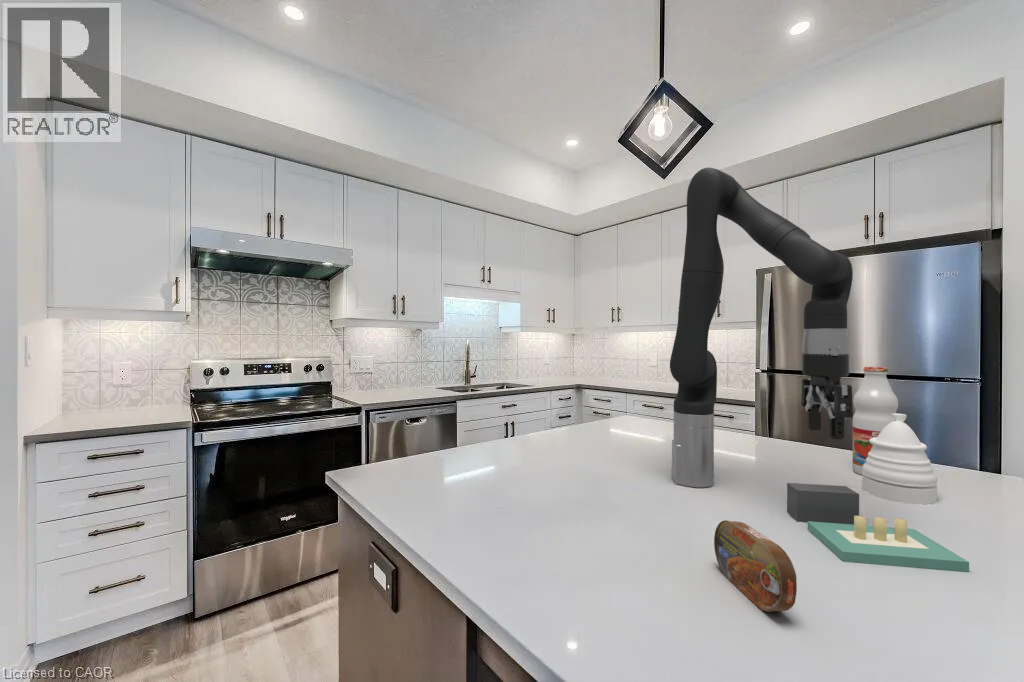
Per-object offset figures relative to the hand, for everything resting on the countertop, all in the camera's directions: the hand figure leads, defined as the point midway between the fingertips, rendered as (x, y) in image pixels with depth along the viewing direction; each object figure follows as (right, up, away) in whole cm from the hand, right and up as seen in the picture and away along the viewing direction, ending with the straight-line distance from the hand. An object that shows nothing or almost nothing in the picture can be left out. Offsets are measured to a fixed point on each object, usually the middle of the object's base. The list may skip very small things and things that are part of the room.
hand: (824, 434), depth 88 cm
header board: (0, -16, -13) cm, 21 cm away
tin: (-28, -17, -26) cm, 42 cm away
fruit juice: (+33, -17, +28) cm, 47 cm away
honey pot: (+26, -17, +13) cm, 34 cm away
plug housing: (-1, -16, -1) cm, 17 cm away
